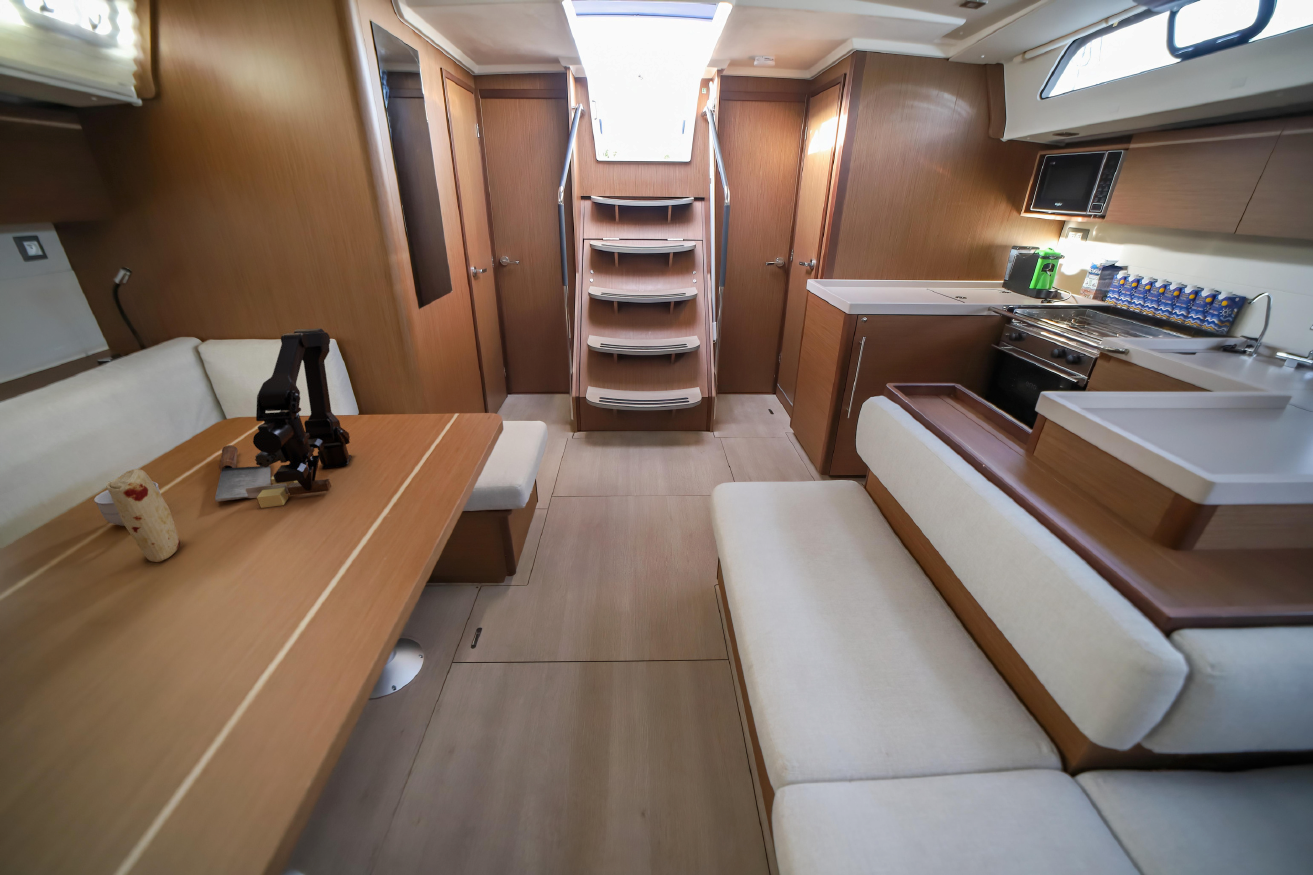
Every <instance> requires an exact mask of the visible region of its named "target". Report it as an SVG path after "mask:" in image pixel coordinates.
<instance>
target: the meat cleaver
mask: <svg viewBox="0 0 1313 875" xmlns="http://www.w3.org/2000/svg"><path fill="white" fill-rule="evenodd" d="M238 453H239V450H238V447H236V446H235V445H232V444H228V445H225V446H224V447H222V449H221V455H220V457H221V458H220V462H219V464H218V470H219V472H220V475H219V478H218V479H219V480H218V483H217V488H216V493H215V497H214V500H215V502H225V501H232V500H233V501H234V500H239V499H249V497H248V495H247V492H246V490H245V488H249V487H258V486H267V485H272V481H271V465H269V466H268V467H266V468H264V467H261V466H259V465H256V466H239V467H237V457H238Z"/></svg>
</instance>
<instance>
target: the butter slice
mask: <svg viewBox="0 0 1313 875" xmlns="http://www.w3.org/2000/svg"><path fill="white" fill-rule="evenodd" d="M256 499H257V502H258V503H259V506H260V508H261V509H263V508H271V507H278V506H284V505H285V504H286V502H287V501H288V499H289V494H287V492H286V490H285V487H284V488H276V489H268V490H262V491H261V493H260V494H259V495H258V497H257V498H256Z"/></svg>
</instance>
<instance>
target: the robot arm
mask: <svg viewBox="0 0 1313 875" xmlns="http://www.w3.org/2000/svg"><path fill="white" fill-rule="evenodd" d="M280 342H281V345H280V348H279V352H278V355H277V359H276V362H275V365H274V368H273V372H272V375H271V377H269V378H268V379H266V380H265V381H264V382H263V383H262V384H261V387H260V389H259V391H258V393H257V396H256V413H255V414H256V415H255V421H256V422H263V423H261V424H259V425H258V426H257V430H258V431H257V432H256V433H255V434H254V436H253V438H252V443H253V446H254V447H255V448H256V450H258V451H259V453H256V455H255V458H254V461H255V465H256V466H261V467H264V468H266V467H268V466H271V465H273V464H276V463H278V462H279V463H280V464H282V465H280V466H279V467H278V469H277V470H275V472H274V474H273V475H272V477H274V479H275V482H276V483H282V482H290V481H298V482H299V483H300V485H301V486H302V487H303V488H304V489H305V490H306V491H310V490H311V487H312V481H315V480H316V477H317V473H318V472H317V471H318V468H319V462H320V465H321V469H322V470H326V469H333V468H335V469H336V468H342V467H347V466H349V463H350V461H351V459H352V457H353V456H352V455H351V454H349V451H348V447H347V445H349V444H350V443H351V441H350V440H351V439H350V437H351V436H350V432H349V431H347V430H346V429H344V428H343V427H342V426H341V423H340V422H341V421H340V420H339V418H338V417H337V416H336V415H335V414H334V413H333V412H332V406H331V400H330V398H331V397H330V392H329V386H328V379H327V372H326V364H325V360H326V359H327V357H328V355H329V353H330V351H331V350H330V344H331V337H330V335H329V333H328V332H326V331H325V330H324V329H323V328H297V329H295V330H294V331H293V332H289V333H288V332H287V333H284V334H282V335H281V336H280ZM302 362H303V368H304V375H305V381H306V387H307V395H308V401H309V409H310V415H309V417H308V418H307V420H306V419H305V421H304V423H303V422H302V419H301V415H300V412H301V411H302V408H301V407H300V402H301V391H300V389H299V388H298V386H297V381H298V377H299V373H300V369H301V367H302ZM303 424H304V425H303ZM315 449H317V454H316V455H314V453H315ZM287 462H289V463H288V464H286V463H287Z"/></svg>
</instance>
